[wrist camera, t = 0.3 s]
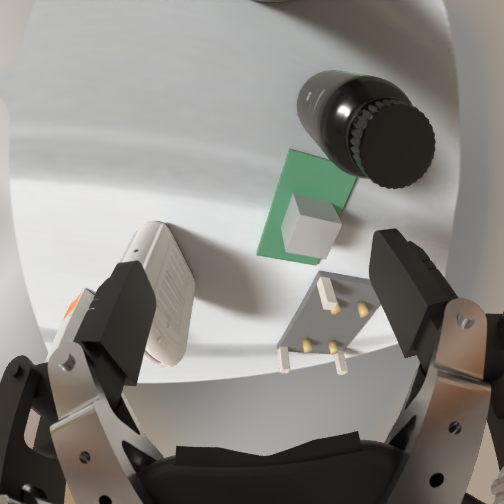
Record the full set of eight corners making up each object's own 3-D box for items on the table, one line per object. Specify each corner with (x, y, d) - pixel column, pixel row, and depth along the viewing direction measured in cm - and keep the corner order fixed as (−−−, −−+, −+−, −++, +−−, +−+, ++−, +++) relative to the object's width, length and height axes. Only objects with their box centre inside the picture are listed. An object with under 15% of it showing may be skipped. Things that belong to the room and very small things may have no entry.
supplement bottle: (325, 54, 19) (394, 55, 9) (382, 103, 21) (467, 145, 12) (279, 113, 22) (309, 158, 13) (339, 156, 24) (396, 226, 15)
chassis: (318, 270, 33) (327, 302, 29) (389, 283, 35) (402, 310, 31) (277, 345, 43) (279, 372, 39) (338, 349, 45) (344, 374, 41)
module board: (288, 147, 24) (298, 166, 21) (355, 166, 26) (375, 189, 22) (256, 249, 32) (258, 281, 28) (314, 259, 33) (323, 290, 29)
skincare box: (84, 286, 34) (53, 358, 25) (107, 303, 36) (82, 376, 27) (69, 303, 36) (42, 368, 27) (91, 318, 38) (67, 383, 29)
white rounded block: (131, 224, 28) (88, 313, 19) (166, 214, 28) (130, 307, 18) (169, 291, 35) (151, 378, 25) (200, 285, 34) (189, 376, 24)
